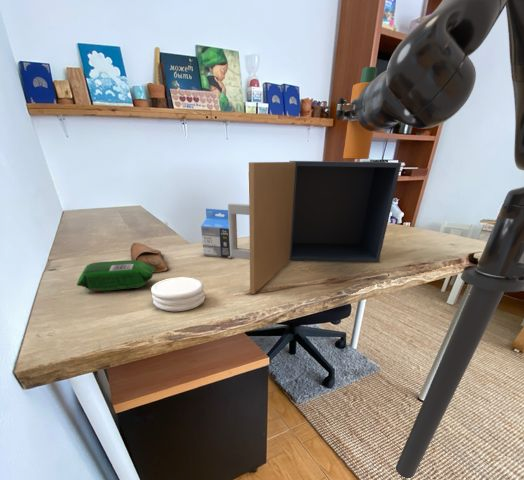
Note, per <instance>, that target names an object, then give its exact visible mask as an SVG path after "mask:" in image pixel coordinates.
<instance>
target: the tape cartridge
mask: <svg viewBox="0 0 524 480" xmlns="http://www.w3.org/2000/svg"><path fill="white" fill-rule="evenodd" d="M219 214H220V215H219ZM221 215H223V216H221ZM200 230H201V240H202V250H203V251H202V253H203V256H207V257H216V258H217V257H218V258H224V259H225V258H226V259H232V258H233V257H230V242H229V221H228V209H218V208H217V209H216V208H205V219H204V221H203V223H202V224H201V226H200Z"/></svg>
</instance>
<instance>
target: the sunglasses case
mask: <svg viewBox="0 0 524 480" xmlns="http://www.w3.org/2000/svg"><path fill="white" fill-rule="evenodd" d="M130 257H131V260H137V261H142V262H144V263H146V264H148V265H150V266H154V267H155V268H156V269H158V270H154V271H153V272H152V274H156V273H162V272H165V271H168V270H169V268H168V265H167V264H166V262H165V260H164V258H163V256H162V252H161V251H160V250H159V249H156V248H152V247H150V246H148V245H145V244H142V243H140V242H133V243H132V245H131V246H130Z"/></svg>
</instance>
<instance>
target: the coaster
mask: <svg viewBox="0 0 524 480" xmlns="http://www.w3.org/2000/svg"><path fill="white" fill-rule="evenodd" d="M204 288H205V286H204V284H203V282H202V281H200V280H199V279H197V278H192V277H180V276H179V277H171V278H166V279H163V280H160V281H157V282H155V283H154V284H152V286H151V287H150V292H151V297H152V302H153V305H154V306H155V307H156V308H157V309H160V310H161V311H166V312H184V311H189V310H192V309H196V308H197V307H199V306H201V305H202V304H203V303H204V302H205V299H206V296H205V290H204Z"/></svg>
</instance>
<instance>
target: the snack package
mask: <svg viewBox="0 0 524 480" xmlns="http://www.w3.org/2000/svg"><path fill="white" fill-rule="evenodd" d="M154 270H158V269H156V268H155V267H154V266H150V265H148V264H146V263H144V262H142V261H137V260H132V259H129V260H128V259H127V260H112V261H96V262H92V263H89V264H87V265H86V266H85V267H84V268H83V271H82V272H81V274H80V275H79V278H78V281H77V283H76V286H78V287H83V288H85V289H87V290H89V291H92V292H106V291H119V290H128V289H129V290H130V289H137V288H142V287H144V286H145V285H146V284H147V282H148V281H150V280H151V279H152V278H153V276H154V275H153V274H154V273H152V272H153V271H154Z"/></svg>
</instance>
